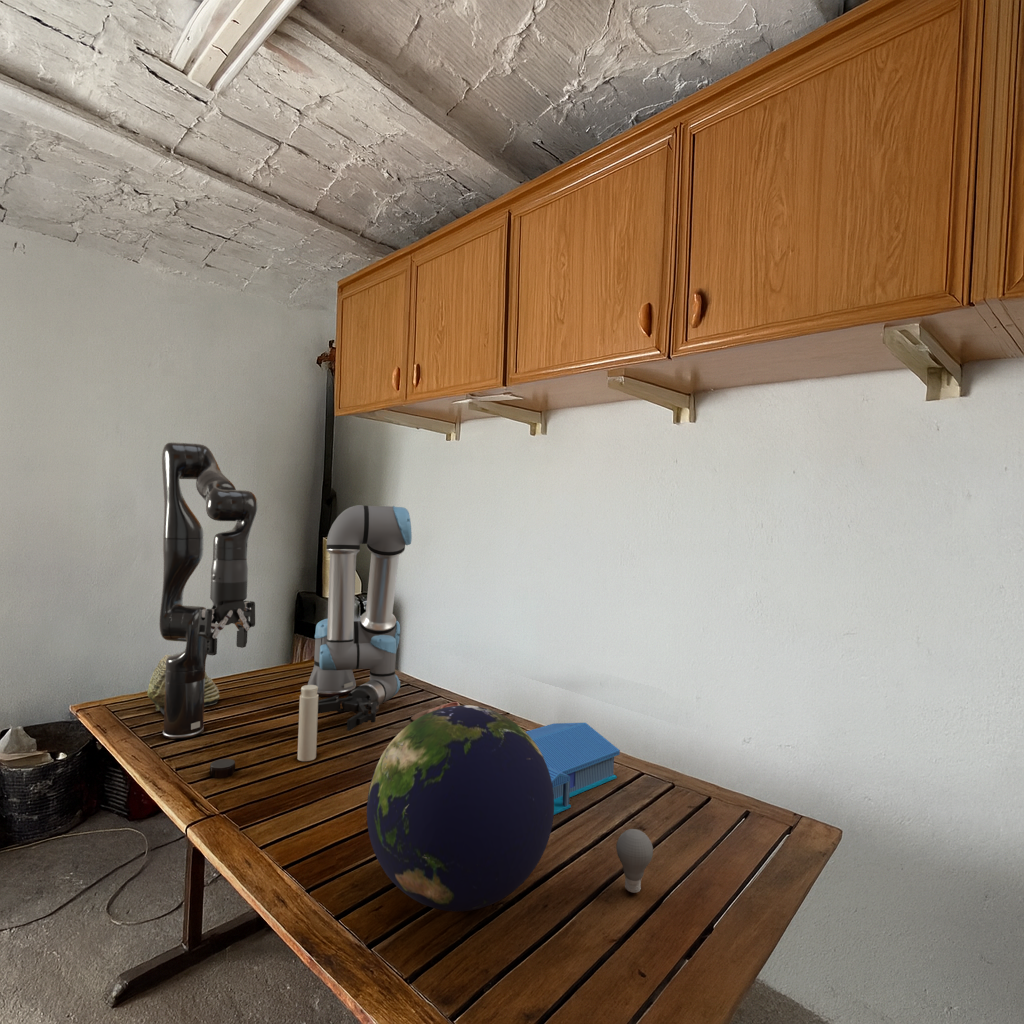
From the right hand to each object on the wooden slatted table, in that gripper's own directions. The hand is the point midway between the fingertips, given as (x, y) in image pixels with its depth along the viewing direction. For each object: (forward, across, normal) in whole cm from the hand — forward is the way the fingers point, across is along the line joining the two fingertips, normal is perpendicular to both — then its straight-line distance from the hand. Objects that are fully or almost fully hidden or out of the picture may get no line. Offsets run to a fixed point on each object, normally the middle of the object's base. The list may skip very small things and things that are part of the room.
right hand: (324, 721), depth 161 cm
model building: (+3, -55, -6) cm, 56 cm away
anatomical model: (-29, -18, -6) cm, 35 cm away
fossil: (-10, +53, -6) cm, 54 cm away
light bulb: (+34, -81, -6) cm, 88 cm away
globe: (+45, -54, -6) cm, 70 cm away
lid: (+22, +12, -4) cm, 25 cm away
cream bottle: (+8, 0, -6) cm, 10 cm away
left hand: (+22, +12, +22) cm, 33 cm away
